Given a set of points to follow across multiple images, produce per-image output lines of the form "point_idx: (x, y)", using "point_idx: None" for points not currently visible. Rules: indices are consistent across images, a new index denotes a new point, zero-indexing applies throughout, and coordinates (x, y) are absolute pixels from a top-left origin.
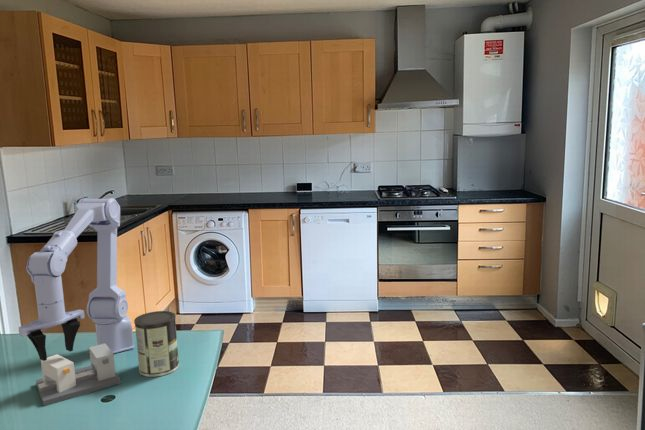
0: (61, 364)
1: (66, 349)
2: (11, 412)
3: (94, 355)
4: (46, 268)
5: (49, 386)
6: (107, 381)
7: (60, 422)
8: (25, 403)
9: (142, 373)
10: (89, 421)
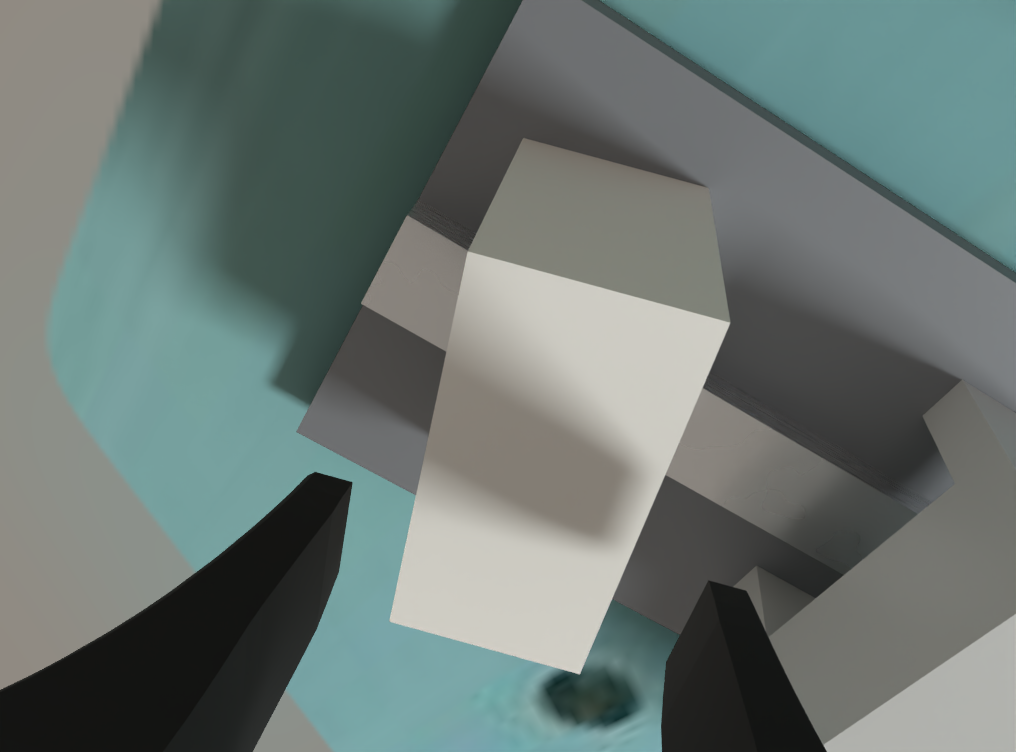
0: (484, 600)
1: (704, 593)
2: (118, 250)
3: None
4: None
5: (441, 345)
6: None
7: None
8: (254, 232)
9: None
10: (349, 737)
